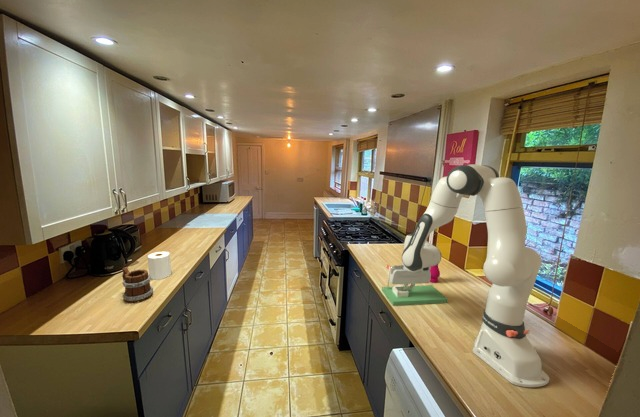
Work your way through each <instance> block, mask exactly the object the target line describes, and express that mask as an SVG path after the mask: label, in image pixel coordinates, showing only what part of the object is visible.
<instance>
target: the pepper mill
mask: <svg viewBox="0 0 640 417" xmlns="http://www.w3.org/2000/svg"><path fill="white" fill-rule="evenodd" d="M440 253H441V251H440ZM441 254H442V253H441ZM430 272H431V279H430V282H429V283H432V284H436V283H439V277H440V276H441V272H440V269H439V264H438V265H435V266H431V269H430Z"/></svg>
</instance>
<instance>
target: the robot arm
mask: <svg viewBox="0 0 640 417" xmlns="http://www.w3.org/2000/svg"><path fill="white" fill-rule="evenodd" d="M464 196H472V197H474V196H478V197H479V198H480V199H481V200H482V203H483V204H482V205H483V210H484V216H485V223H486V228H487V248H486V249H487V250H486V258H485V261H484V263H483V275H484V276H485V277H486V279H487V280H488V281H489V282H490V283H492V284H491V286H490V288H489V290H488V294H487V299H486V303H485V308H484V309H483V313H482V320H481V321H482V323H481V326H480V328H479V332H478V333H477V337H476V338H475V339H474V340H473V344H474V345H473V348H472V353H473V354H474V355H476V356H477V357H478V358H479V359H480V360H482V361H483V362H484V363H486V364H487V365H488V366H489V367H491V368H492V369H493V370H494V371H496V372H497V373H498V374H499V375H501V376H502V377H503V378H504V379H506V381H508V382H510V384H512V385H515V386H517V387H523V388H539V387H544V386H546V385H548V384H549V383H550V376H549V375H548V374H547V373H546V372H545V371H544V370H543V369H542V366H543V364H542V359H541V357H540V355H539V354H538V352H537V349H536V348H535V347H534V346H533V345H532V343H531V342H530V340H529V338H528V337H527V334H530V332H531V331H530V330H529V329H528V330H526V326H525V322H524V320H525V319H524V318H525V313H526V309H527V304H528V302H529V298H530V296H531V294H532V291H533V288H534V286H535V283H536V280H537V278H538V274H539V271H540V269H541V266H542V263H543V262H542V258H541V255H540V254H539V253H538V252H537V251H536V250H534V249H533V248H531V247H528V246H526V238H527V233H528V228H527V227H528V226H527V222H526V216H525V210H524V205H523V200H522V196H521V194H520V191H519V188H518V186H517V184H516V182H515V181H514V180H513V179H512V178H510V177H504V176H502V177H500V174H499V172H498V171H497V169H495V168H494V167H492V166H489V165H483V164H481V165H480V164H461V165H458V166H455V167H454V168H452V169H451V170H450V171H449V172H448V173H447V176H443V177H441V178H439V179H438V182H437V183H436V185H435V187H434V189H433V191H432V194H431V197H430V201H429V204H428V206H427V207H426V210H425V211H424V213H423V214H422V215H421V217H420V218H419V219H418V221H417V224H415V228H414V230H413V233H408V234H407V235H406V236H405V239H404V243H403V251H402V254H401V265H399V264H398V265H393V266H392V267H390V277H389V283H391V285H403V286H405V291H408V292H411V291H412V289H413V287H414V286H416V285H417V284H419V285H420V284H429V283H431V282H430V279H431V272H430V269H431V266H435V265H438V266H439V264H440V262H441V260H442V253H440V252H441V250H440V249H439V248H438V247H437V246H435V245H433V244H431V243H430V242H429V241H428V238H429V236H430V235H431V233H433V232H434V231H435V230H436V229H438V228H440V227H442V226H444V225H447V224H449V223H450V222H451V221H453V219H454V218H455V216H456V214H457V213H458V210H459V206H460V204H461V200H462V198H463V197H464ZM407 286H410V287H407Z"/></svg>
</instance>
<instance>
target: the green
mask: <svg viewBox="0 0 640 417" xmlns="http://www.w3.org/2000/svg"><path fill="white" fill-rule="evenodd" d="M386 268H387V270H388V277H387V286H381V292H382V293H383V295H384V296H385V297H386V299H387V300H388V301H389V302H390V304H391V305H392V306H411V305H412V306H413V305H414V306H415V305H429V304H447V303H448V301H449V300H448V298H447V296H445V295H444V294H442V293H441V292H440V290H438V289H437V288H436V287H434V285H432V284H431V285H429V284H428V285H424V284H423V285H415V286H414V287H413V289H412V291H411V292H408V291H405V286H404V284H401V285H392V286H390V280H389V278H390V274H391V266H390V265H389V264H388V263H387V264H386ZM407 287H410V285H408V286H407ZM399 290H400V291H399Z"/></svg>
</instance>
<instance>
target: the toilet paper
mask: <svg viewBox="0 0 640 417" xmlns="http://www.w3.org/2000/svg"><path fill="white" fill-rule="evenodd" d="M147 264H148V275H149V276H150V278H151V280H163V279H165V278H168V277H170V276H171V275H172V267H171V266H172V264H171V254H170V252H169V251H156V252H152V253H150V254H148V255H147Z"/></svg>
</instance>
